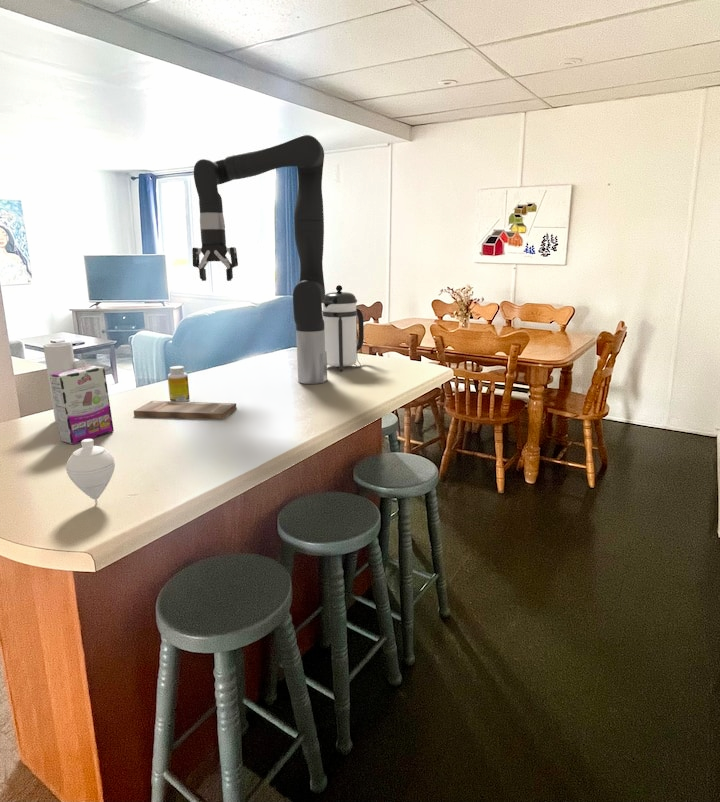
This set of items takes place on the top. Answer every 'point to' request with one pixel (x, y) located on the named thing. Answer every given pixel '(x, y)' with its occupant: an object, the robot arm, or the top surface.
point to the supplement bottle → (178, 384)
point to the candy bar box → (81, 403)
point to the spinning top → (90, 468)
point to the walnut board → (185, 410)
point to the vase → (60, 362)
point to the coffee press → (342, 328)
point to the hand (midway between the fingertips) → (216, 280)
